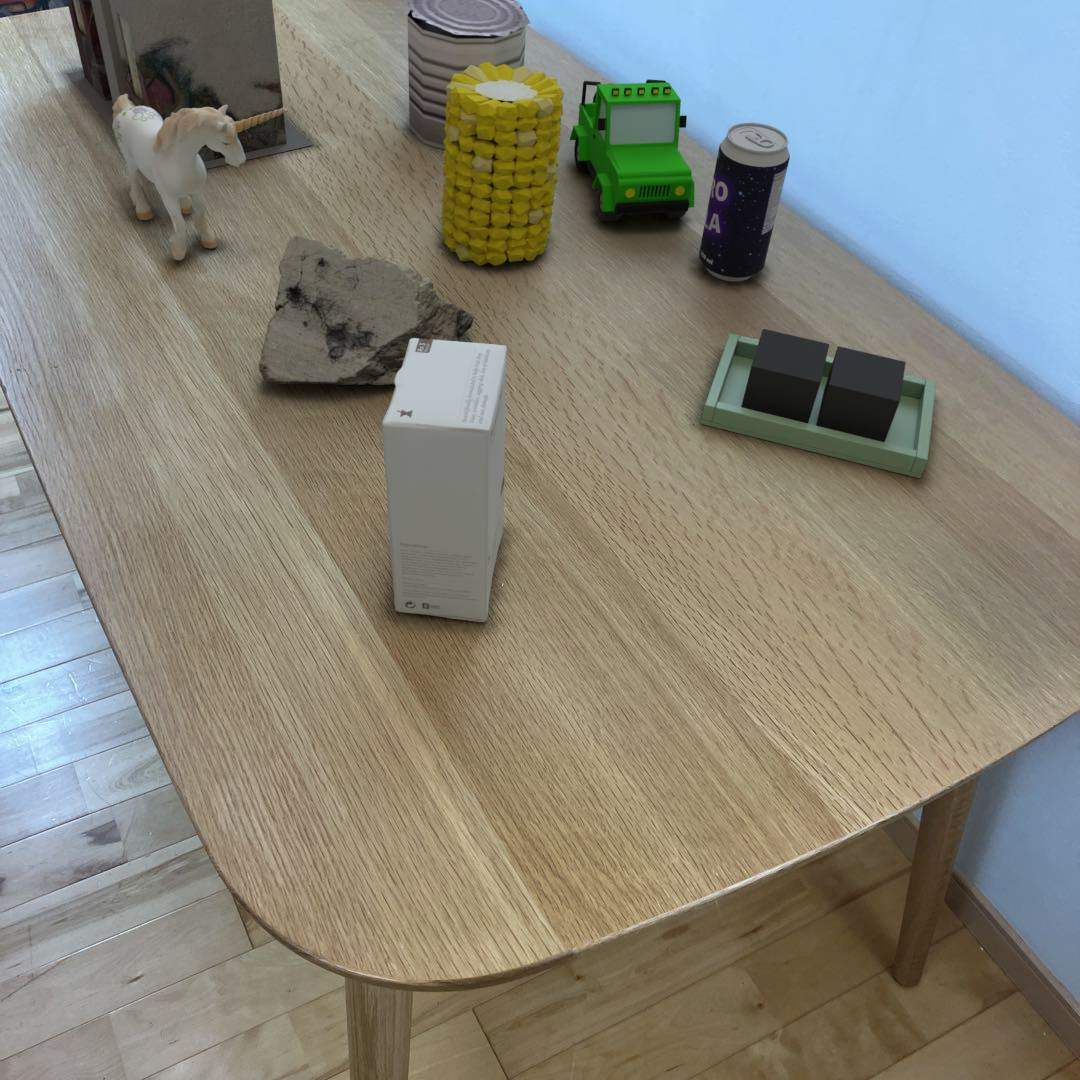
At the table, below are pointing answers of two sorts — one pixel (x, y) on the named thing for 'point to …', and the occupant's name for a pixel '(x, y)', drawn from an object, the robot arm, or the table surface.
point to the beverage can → (744, 200)
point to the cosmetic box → (446, 476)
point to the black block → (785, 375)
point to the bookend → (186, 63)
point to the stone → (350, 317)
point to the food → (500, 162)
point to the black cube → (861, 394)
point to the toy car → (634, 149)
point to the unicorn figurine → (177, 158)
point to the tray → (896, 454)
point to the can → (456, 52)
